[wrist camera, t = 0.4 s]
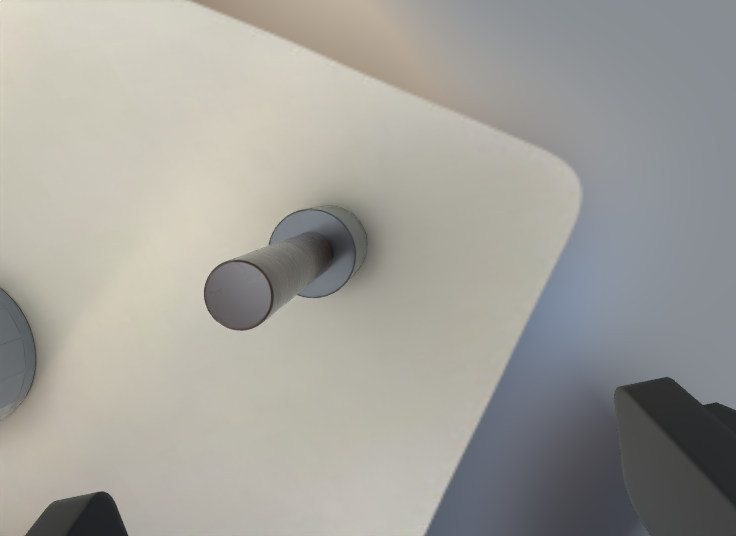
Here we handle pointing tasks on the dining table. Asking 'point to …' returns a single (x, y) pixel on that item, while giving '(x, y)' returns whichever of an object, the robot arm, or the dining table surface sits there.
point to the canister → (14, 356)
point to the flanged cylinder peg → (287, 267)
